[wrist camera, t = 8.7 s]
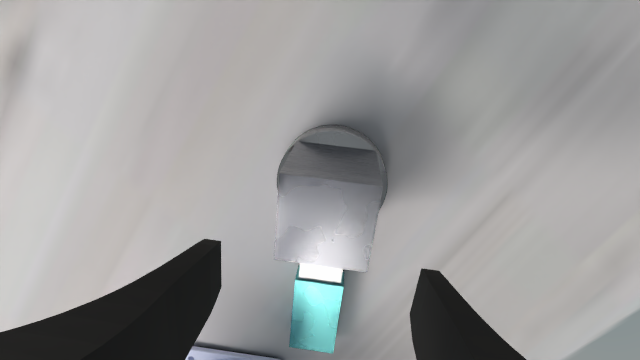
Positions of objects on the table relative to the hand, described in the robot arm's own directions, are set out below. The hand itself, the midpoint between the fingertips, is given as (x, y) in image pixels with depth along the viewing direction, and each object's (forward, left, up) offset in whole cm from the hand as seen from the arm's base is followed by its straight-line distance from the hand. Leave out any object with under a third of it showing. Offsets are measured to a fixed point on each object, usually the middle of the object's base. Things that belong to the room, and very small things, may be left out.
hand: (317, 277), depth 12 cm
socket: (0, 0, -8) cm, 8 cm away
